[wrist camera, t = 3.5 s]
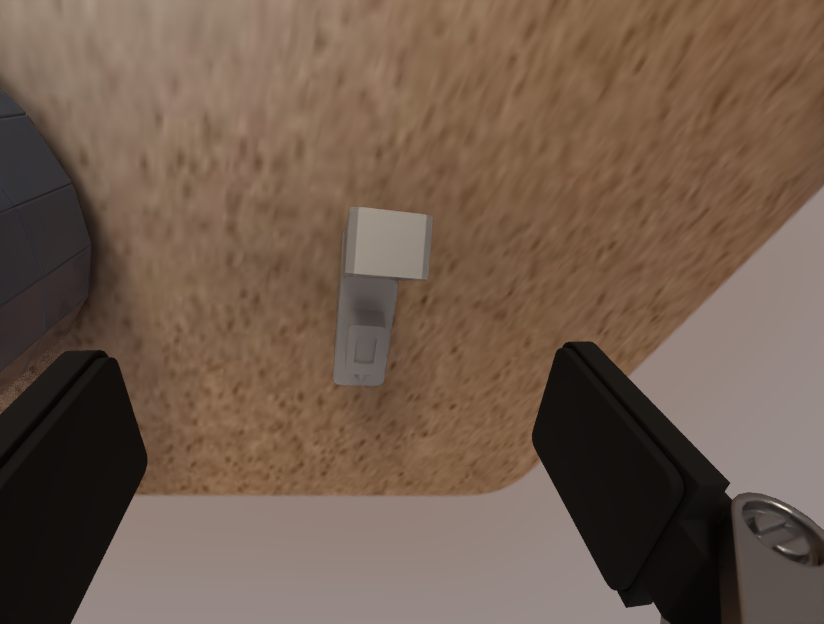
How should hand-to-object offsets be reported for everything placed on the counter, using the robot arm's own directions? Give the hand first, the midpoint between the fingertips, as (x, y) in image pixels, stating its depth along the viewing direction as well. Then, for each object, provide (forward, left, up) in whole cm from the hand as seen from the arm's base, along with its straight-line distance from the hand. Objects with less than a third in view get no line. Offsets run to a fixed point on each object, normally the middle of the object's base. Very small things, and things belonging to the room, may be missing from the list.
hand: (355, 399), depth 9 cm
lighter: (0, 0, -9) cm, 9 cm away
